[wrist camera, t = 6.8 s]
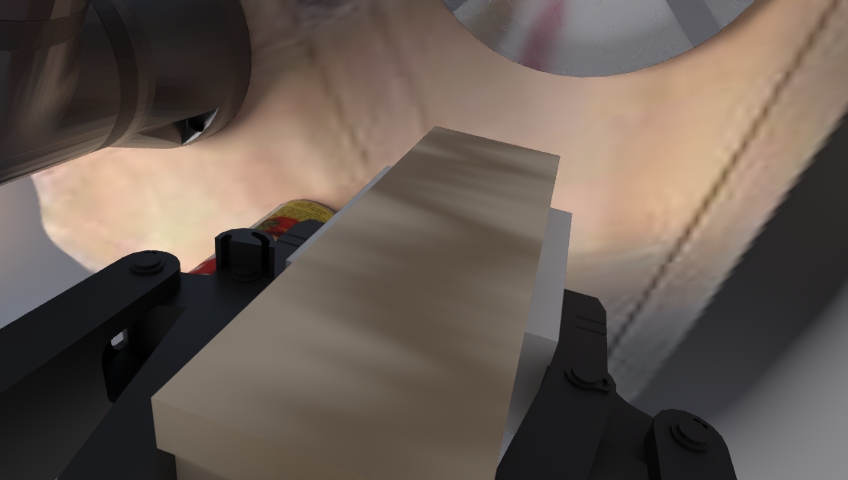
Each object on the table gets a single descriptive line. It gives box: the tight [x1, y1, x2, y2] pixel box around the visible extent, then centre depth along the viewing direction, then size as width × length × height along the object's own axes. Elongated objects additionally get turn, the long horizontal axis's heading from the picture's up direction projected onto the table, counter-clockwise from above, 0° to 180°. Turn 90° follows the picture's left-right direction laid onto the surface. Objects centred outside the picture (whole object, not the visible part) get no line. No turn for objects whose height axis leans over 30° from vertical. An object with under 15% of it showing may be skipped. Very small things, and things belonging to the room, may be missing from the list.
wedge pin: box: [151, 126, 560, 480], centre depth 14 cm, size 4×4×14 cm
